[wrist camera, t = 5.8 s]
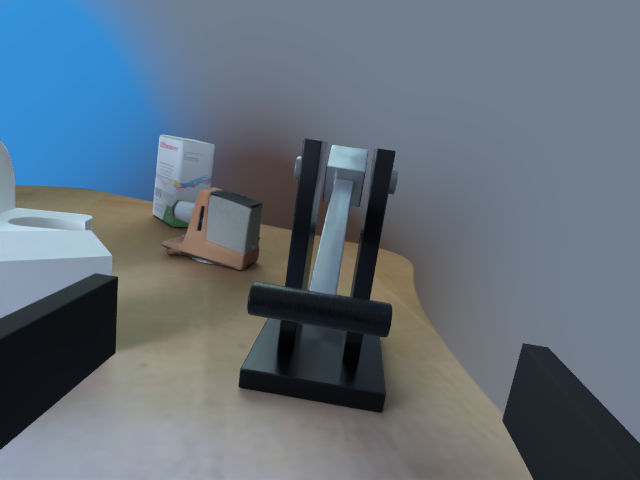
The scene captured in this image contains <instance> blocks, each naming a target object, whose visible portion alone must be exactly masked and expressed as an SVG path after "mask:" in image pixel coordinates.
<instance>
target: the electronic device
mask: <svg viewBox="0 0 640 480" xmlns="http://www.w3.org/2000/svg"><path fill="white" fill-rule="evenodd" d="M261 210H262V203H261V202H257V201H255V200H253V199H250V198H248V197H245V196H242V195H240V194H236V193H233V192H229V191H226V190H222V189H218V188H216V187H215V188H206V189H202V190H201V191H200V192H199V195H198V197H197V200H196V203H191V202H185V201H182V200H177V201H176V202H175V203H174V205H173V206H172V213H173V216H174V218H177V219H179V220H182V221H183V222H185V223H187V224H189V226H188V230H187V233H186V234H184V235H181V236H178V237H175V238H172V239H169V240H166V241H163V242H162V243H161V245H162V246H164V247H166V248H168V249H167V253H168V254H169V255H183V256H189V257H193V258H190V259H193V260H197V261H199V262H204V263H209V264H217V265H222V266H227V267H230V268H234V269H237V270H243V269H244V268H246V267H247V266H249V265H251V264H252V263H254V262H256V261H257V260H258V255H259V239H260V237H259V232H260V220H261Z"/></svg>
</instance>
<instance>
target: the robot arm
mask: <svg viewBox="0 0 640 480" xmlns="http://www.w3.org/2000/svg"><path fill="white" fill-rule="evenodd" d="M117 290H118V277H116V276H110V275H104V274H98V273H95V274H93V275H91V276H89V277H86V278H84V279H82V280H80V281H78V282H76V283H74V284H72V285H70V286H67V287H65V288H63V289H61V290H59V291H57V292H55V293H53V294H51V295H48V296H46V297H44V298H42V299H40V300H38V301H36V302H34V303H31V304H29V305H27V306H25V307H23V308H21V309H19V310H17V311H15V312H12V313H10V314H8V315H6V316H4V317H2V318H0V450H1V449H2V448H3V447H4V446H5V445H6V444H8V443H9V442H10V441H11V440H12V439H14V438H15V437H16V436H17V435H18V434H20V433H21V432H22V431H23V430H24V429H26V428H27V427H28V426H29V425H30V424H31V423H33V422H34V421H35V420H36V419H37V418H39V417H40V416H41V415H42V414H43V413H45V412H46V411H47V410H48V409H49V408H50V407H52V406H53V405H54V404H55V403H56V402H58V401H59V400H60V399H61V398H62V397H64V396H65V395H66V394H67V393H68V392H70V391H71V390H72V389H73V388H74V387H75V386H77V385H78V384H79V383H80V382H81V381H83V380H84V379H85V378H86V377H87V376H89V375H90V374H91V373H92V372H93V371H94V370H96V369H97V368H98V367H99V366H100V365H102V364H103V363H104V362H105V361H106V360H108V359H109V358H110V357H111V356H112V355H114V354H115V350H116V320H117ZM502 421H503V423H504V425H505V427H506V428H507V430H508V432H509V434H510V436H511V438H512V440H513V442H514V443H515V445H516V447H517V449H518V451H519V453H520V455H521V457H522V459H523V460H524V462H525V464H526V466H527V468H528V470H529V472H530V474H531V475H532V477H533V479H534V480H640V443H639V442H638V441H637V440H636V439H635V438H634V437H633V436H632V435H631V434H630V433H629V432H628V431H627V430H626V429H625V427H623V425H622V424H621V423H620V422H619V421H618V420H617V419H616V418H615V417H614V416H613V415H612V414H611V413H610V412H609V411H608V410H607V409H606V408H605V407H604V406H603V405H602V403H601V402H599V400H598V399H597V398H596V397H595V396H594V395H593V394H592V393H591V392H590V391H589V390H588V389H587V388H586V387H585V386H584V385H583V384H582V383H581V382H580V381H579V379H577V377H576V376H575V375H574V374H573V373H572V372H571V371H570V370H569V369H568V368H567V367H566V366H565V365H564V364H563V363H562V362H561V361H560V360H559V359H558V357H557V356H556V355H555V354H554V353H553V352H552V351H551V350H550V349H549V348H548V347H542V346H536V345H530V344H524V343H523V345H522V349H521V353H520V356H519V360H518V364H517V368H516V371H515V375H514V379H513V383H512V386H511V390H510V394H509V398H508V401H507V405H506V409H505V412H504V416H503V420H502Z"/></svg>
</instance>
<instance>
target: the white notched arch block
mask: <svg viewBox="0 0 640 480" xmlns="http://www.w3.org/2000/svg"><path fill="white" fill-rule="evenodd" d="M92 219H93V217H92V216H90V215H84V214H74V213H64V212H54V211H44V210H33V209H23V208H15V180H14V169H13V165H12V161H11V158H10V155H9V153H8V151H7V149H6V147H5V145H4V144H3V143H2V141H1V140H0V231H72V230H91V231H92Z"/></svg>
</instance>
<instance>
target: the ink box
mask: <svg viewBox="0 0 640 480" xmlns="http://www.w3.org/2000/svg"><path fill="white" fill-rule="evenodd" d="M214 149H215V145H213V144H209V143H205V142H201V141H197V140H193V139H187V138H180V137H174V136H168V135H162V136H160V139H159V148H158V158H157V170H156V180H155V191H154V202H153V215H155V216H157V217H158V218H160V219H161V220H163V221H164V222H166V223H168V224H169V225H171V226H172V227H188V226H189V224H187V223H185V222H183V221H182V220H179V219H177V218H174V216H173V213H172V206H173V205H174V203H175V202H176V201H177V200H182V201H185V202H191V203H196V200H197V197H198V195H199V192H200V191H201V190H202V189H206V188H210V185H211V176H212V167H213V158H214Z"/></svg>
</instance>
